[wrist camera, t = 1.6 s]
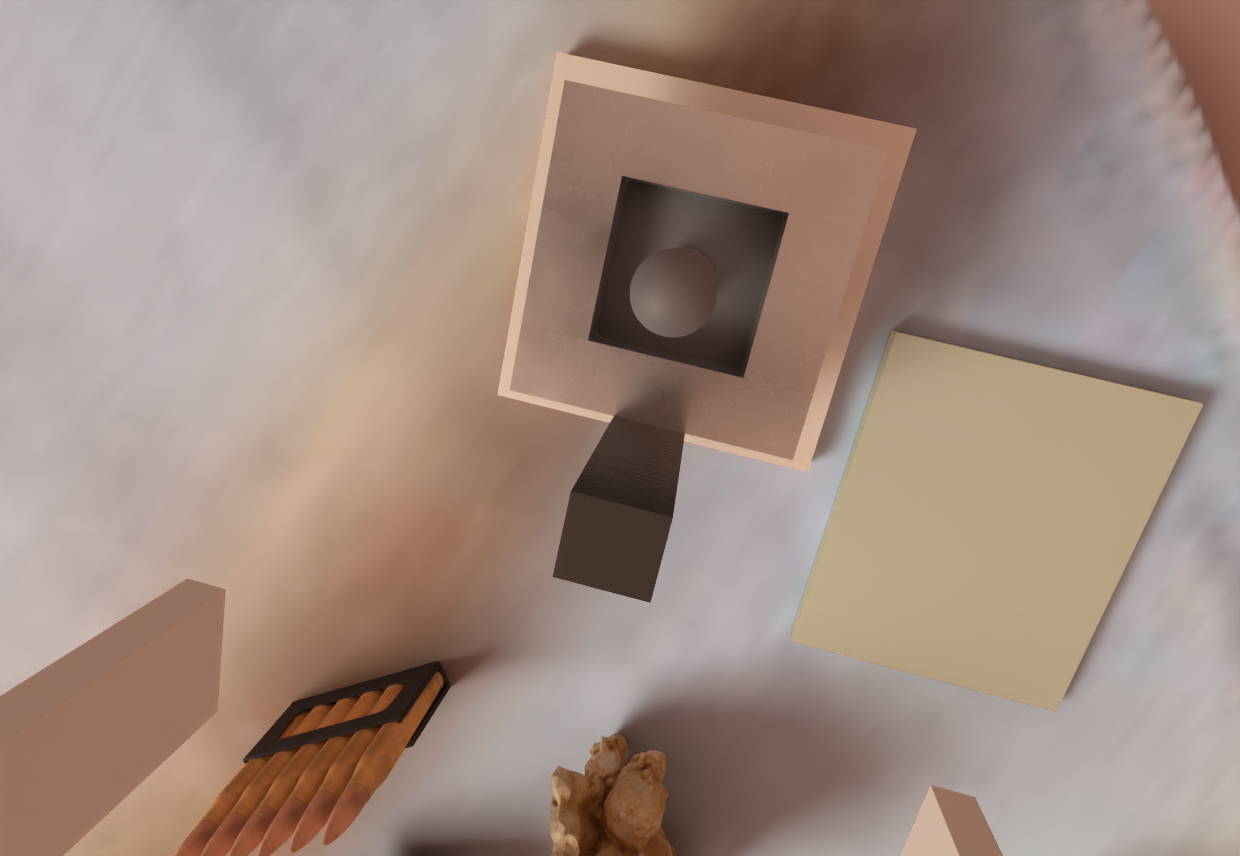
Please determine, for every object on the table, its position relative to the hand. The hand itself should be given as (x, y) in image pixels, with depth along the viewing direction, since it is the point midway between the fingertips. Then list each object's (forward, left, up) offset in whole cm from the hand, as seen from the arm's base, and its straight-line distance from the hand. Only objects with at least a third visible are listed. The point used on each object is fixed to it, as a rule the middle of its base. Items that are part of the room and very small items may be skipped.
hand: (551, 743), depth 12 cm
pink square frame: (-6, 0, -19) cm, 20 cm away
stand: (-8, 0, -24) cm, 25 cm away
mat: (+1, +17, -24) cm, 29 cm away
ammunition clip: (+21, -13, -24) cm, 35 cm away
